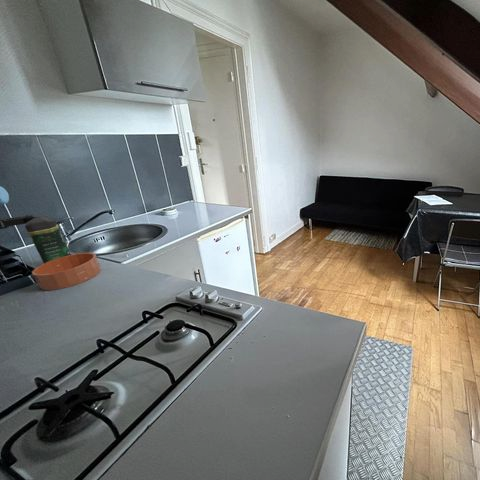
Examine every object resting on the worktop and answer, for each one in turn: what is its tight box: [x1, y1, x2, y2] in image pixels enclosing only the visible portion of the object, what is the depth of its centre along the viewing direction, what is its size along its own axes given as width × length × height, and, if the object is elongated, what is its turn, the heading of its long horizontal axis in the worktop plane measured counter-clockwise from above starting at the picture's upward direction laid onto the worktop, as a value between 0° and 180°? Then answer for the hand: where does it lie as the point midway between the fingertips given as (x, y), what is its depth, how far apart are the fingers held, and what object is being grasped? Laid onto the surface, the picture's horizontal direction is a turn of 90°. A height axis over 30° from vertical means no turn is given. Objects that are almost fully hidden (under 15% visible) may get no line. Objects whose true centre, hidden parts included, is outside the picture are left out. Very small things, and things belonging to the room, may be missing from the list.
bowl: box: [31, 252, 102, 291], centre depth 89 cm, size 16×16×6 cm
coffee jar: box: [24, 215, 72, 264], centre depth 97 cm, size 10×8×19 cm
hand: (20, 226), depth 96 cm, fingers open, 13 cm apart
